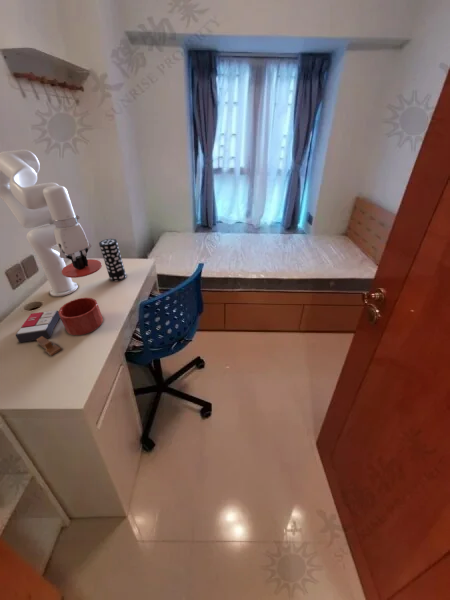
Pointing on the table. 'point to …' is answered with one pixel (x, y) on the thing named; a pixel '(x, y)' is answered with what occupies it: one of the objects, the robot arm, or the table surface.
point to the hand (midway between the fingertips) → (81, 266)
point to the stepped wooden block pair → (48, 346)
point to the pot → (81, 316)
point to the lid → (84, 271)
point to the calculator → (38, 326)
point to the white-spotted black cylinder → (112, 259)
